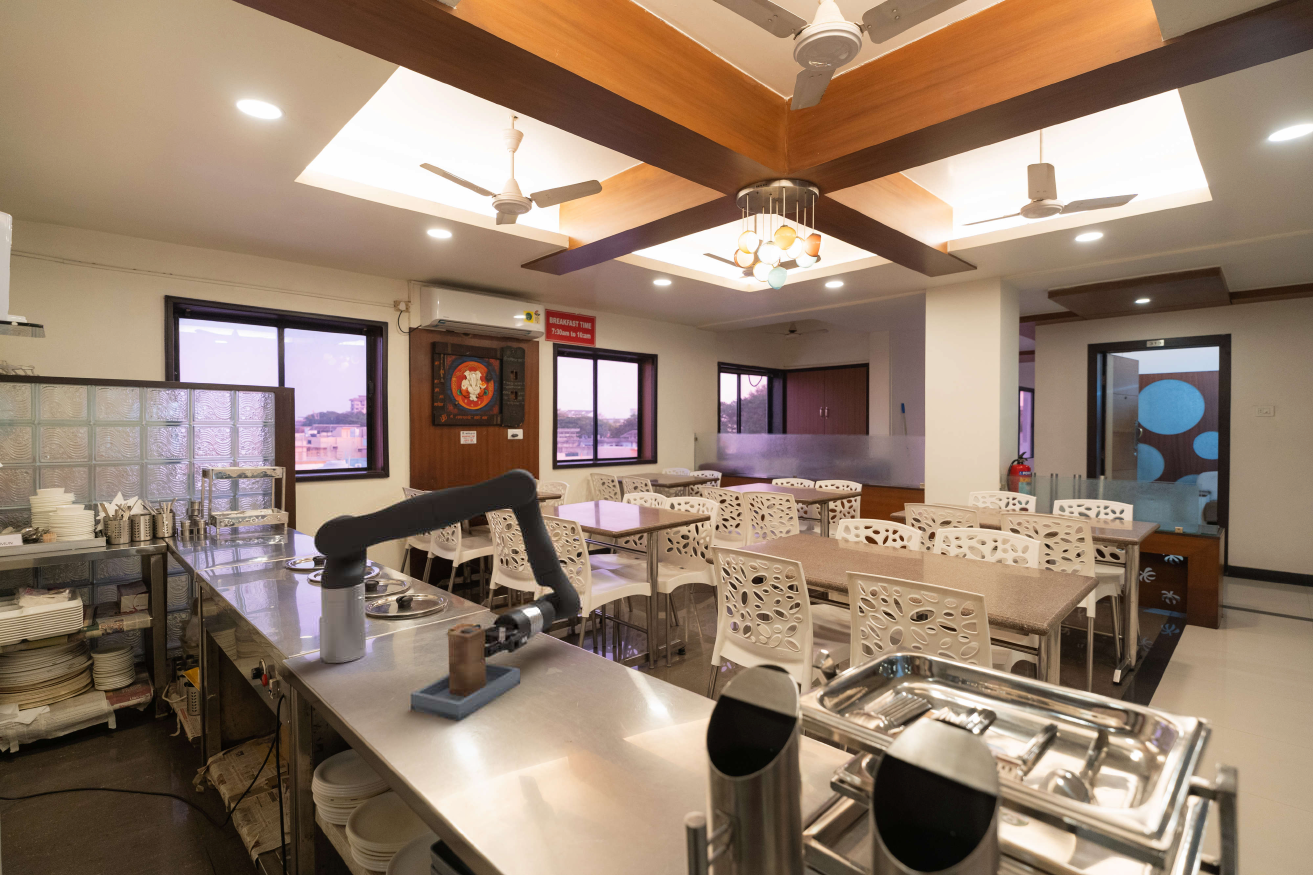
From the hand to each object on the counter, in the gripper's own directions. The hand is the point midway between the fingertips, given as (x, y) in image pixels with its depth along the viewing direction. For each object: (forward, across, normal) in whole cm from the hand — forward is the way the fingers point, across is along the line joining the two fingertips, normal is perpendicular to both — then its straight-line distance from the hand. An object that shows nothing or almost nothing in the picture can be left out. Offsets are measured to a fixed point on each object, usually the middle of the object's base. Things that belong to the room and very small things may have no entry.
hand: (468, 649), depth 122 cm
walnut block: (0, 0, +8) cm, 8 cm away
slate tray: (0, 0, +9) cm, 9 cm away
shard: (-29, -26, +10) cm, 40 cm away
